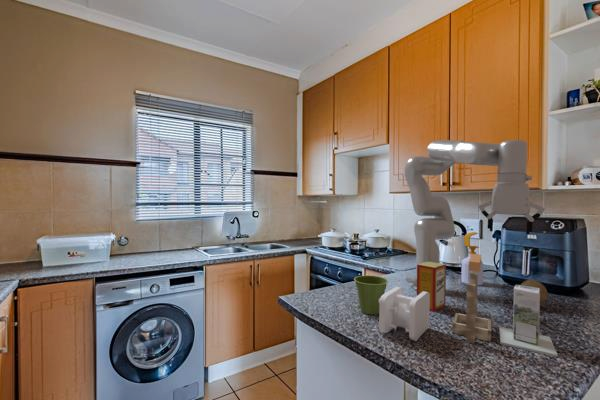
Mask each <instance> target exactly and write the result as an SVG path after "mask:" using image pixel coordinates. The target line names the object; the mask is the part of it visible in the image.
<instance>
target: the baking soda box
mask: <svg viewBox="0 0 600 400" xmlns="http://www.w3.org/2000/svg"><path fill="white" fill-rule="evenodd" d="M446 273H447V264H445V263H441V262H440V263H435V262H423V263H420V264H418V265H417V290H416V296H418V295H419V294H420V293H422V292H423V291H425V292H429V295H430V307H429V312H433V313H435V312H436V311H439V310H440V309H442V308H444V307H446V300H447V299H446V298H447V297H446V295H447V294H446V288H447V287H446V286H447V285H446V284H447V282H446V281H447V279H446V278H447V274H446Z"/></svg>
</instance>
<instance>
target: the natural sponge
mask: <svg viewBox="0 0 600 400" xmlns="http://www.w3.org/2000/svg"><path fill="white" fill-rule="evenodd" d="M520 285H521V286H528V287H534V288H540V305H541V304H542V303H544V302H546V300H548V297H549V295H548V293H549V292H548V290H547V288H546V286H544V285H543V284H542V282H540V281H538V280H536V279H527V280H525V281H523V282H522V283H521V284H520Z"/></svg>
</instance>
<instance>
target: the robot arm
mask: <svg viewBox="0 0 600 400" xmlns="http://www.w3.org/2000/svg"><path fill="white" fill-rule="evenodd" d="M426 153H427V155H428V156H422V155H421V156H412V157H410V158H409V159H408V160H407V161H406V163H405V166H404V178H405V181H406V182H407V185H408V189H409V192H410V198H411V203H412V207H413V211H414V213H415V214H416V215H417V216H418V217H419V216H420V217H427V218H420V219H418V220H417V221H416V222H415V223H414V226H413V229H414V231H413V232H414V236H415V244H416V248H415V249H416V250H415V251H416V256H415V257H416V261H415V263H416V265H415V269H416V270H415V271H416V272H415V273H416V274H415V277H409V276H407V277H406V279H405V280H406V282H407V283H410V284H411V283H412V287H411V288H412V289H413V290H415V291H417V265H418V264H420V263H423V262H435V263H441V262H440V261H441V260H440V259H441V257H440V253H441V252H440V251H441V250H440V247H439V245H438V243H437V240H449V239H452V237H454V235H455V231H456V229H455V223H454V219H453V215H452V210H451V206H450V203H449V201H448V200H447V199H446V198H445V196H441V195H433V194H432V192H431V189H430V185H429V183H428V182H427V181H426V179H425V177H423V176H433V177H434V176H435V177H437V176H440V175H442V174H444V173H446V172H447V170H449V169H450V168H451V167H452V166H453V165H455V163H456V164H459V163H461V164H466V165H473V166H474V165H475V166H489V167H490V166H492V167H493V166H494V167H497V175H496V176H497V179H496V183H494V185H493V188H492V193H491V194H492V196H491V200H490V201H488V202H484V203H481V204H479V205H478V208H479V210H480V213H481V214H482V215H483V217H486V219H487V229H488V230H489V232H493V231H494V219H493V217H495V215H511V216H524V217H525V218H526V221H525V222H526V223H525V234H526V235H529V236H530V232H531V233H532V232H533V222H534V221H536V220H537V219H538V218H540V217H541V216H542V215H543V213H544V212H545V210H546V209H545V207H543V206H541V205H538V204H536V203H534V202H531V193H530V186H529V183H527V181H532V180H533V175H529V174H527V167H528V166H527V165H528V164H527V162H528V142H527V141H526V140H522V139H511V140H510V139H509V140H505V141H504V140H503V141H501V142H500V143H493V142H492V143H489V142H475V141H474V142H473V141H464V140H454V139H453V140H450V139H436V140H433V141H431V142H430V143H429V144H428V146H427V148H426ZM489 206H491V207H490V209H491V212H490V213H488V212H487V211H486V209H485V208H487V207H489ZM531 208H534V209H536V210H537V211H536V212H535V214H533V215H532V216H531V214H530V211H531Z"/></svg>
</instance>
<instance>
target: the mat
mask: <svg viewBox="0 0 600 400" xmlns="http://www.w3.org/2000/svg"><path fill="white" fill-rule="evenodd" d="M499 341H500V343H499V344H500V345H503V346H507V347H512V348H515V349H519V350H524V351H529V352H533V353H536V354H537V353H538V354H542V355H547V356H552V357H555V358H558V352H557V350H556V348H555V345H554V343H553V341H552V339H551V336H548V335H543V334H539V345H535V344H531V343H527V342H523V341H519V340H516V339H513V329H512V328H507V327H503V326H499Z"/></svg>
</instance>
